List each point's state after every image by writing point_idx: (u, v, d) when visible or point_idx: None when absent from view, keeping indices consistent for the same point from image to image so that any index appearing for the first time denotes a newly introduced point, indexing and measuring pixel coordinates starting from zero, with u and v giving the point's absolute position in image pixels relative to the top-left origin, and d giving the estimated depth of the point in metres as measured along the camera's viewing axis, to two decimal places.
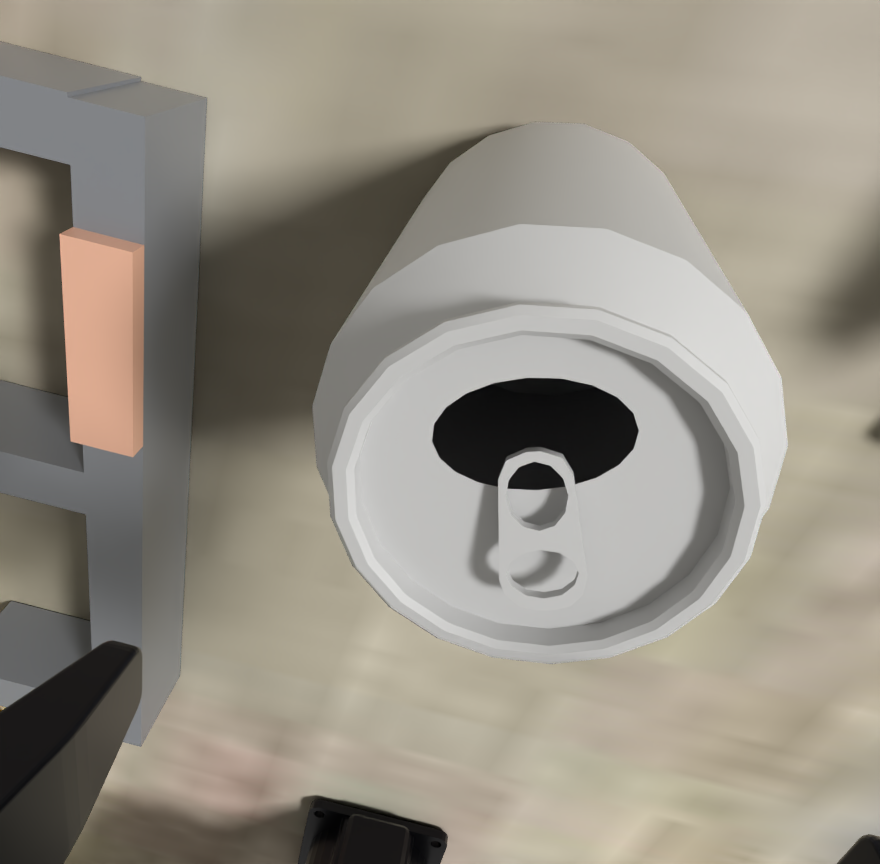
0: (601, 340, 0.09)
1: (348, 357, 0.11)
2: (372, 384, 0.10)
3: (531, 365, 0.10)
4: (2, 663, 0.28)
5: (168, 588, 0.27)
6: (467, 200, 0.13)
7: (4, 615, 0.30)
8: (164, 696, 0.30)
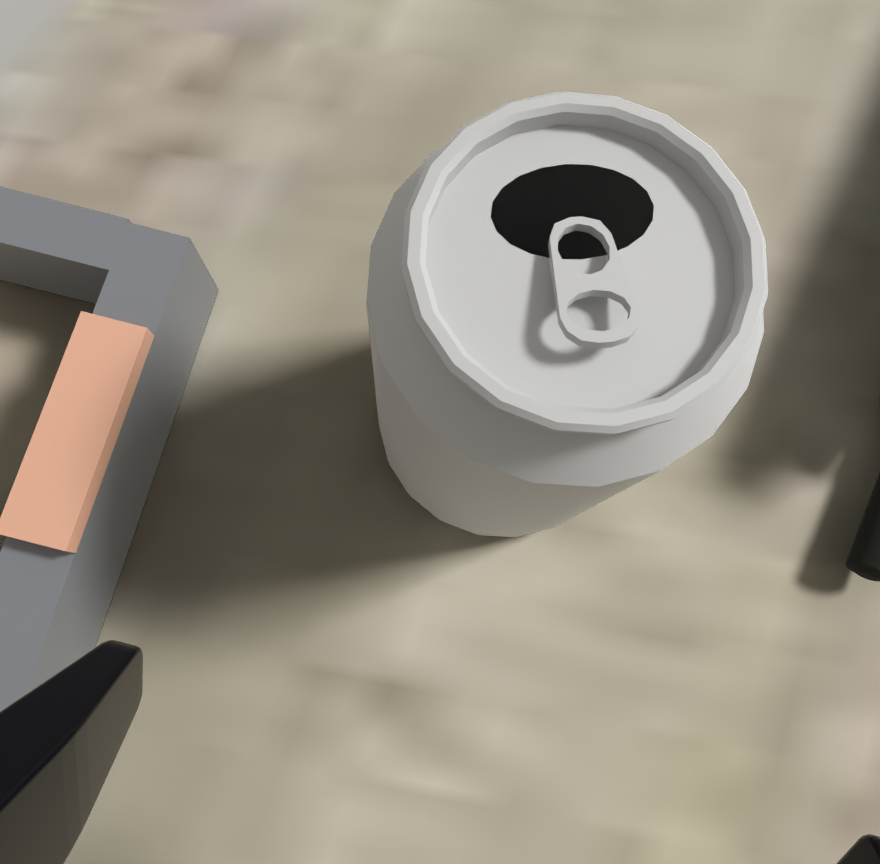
0: (620, 111, 0.13)
1: (414, 184, 0.14)
2: (452, 141, 0.13)
3: (567, 154, 0.13)
4: None
5: None
6: None
7: None
8: None
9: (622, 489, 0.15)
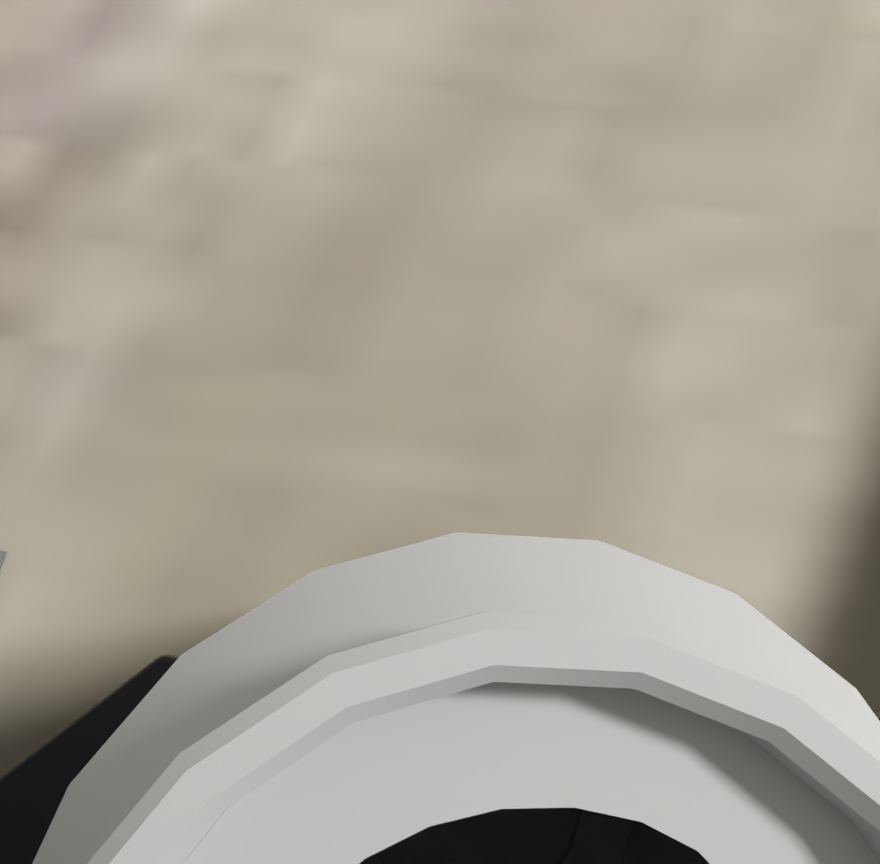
0: (661, 684, 0.04)
1: (100, 803, 0.05)
2: (141, 823, 0.04)
3: (507, 777, 0.05)
4: None
5: None
6: None
7: None
8: None
9: None
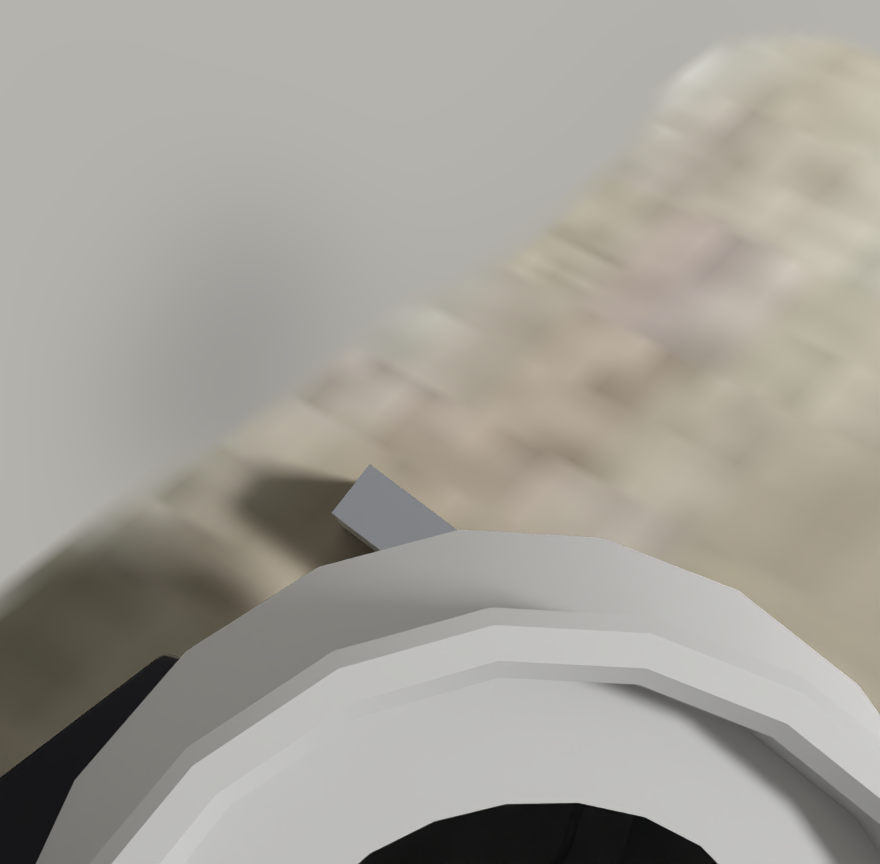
0: (665, 681, 0.04)
1: (106, 798, 0.05)
2: (147, 819, 0.04)
3: (512, 772, 0.05)
4: None
5: None
6: None
7: None
8: None
9: None
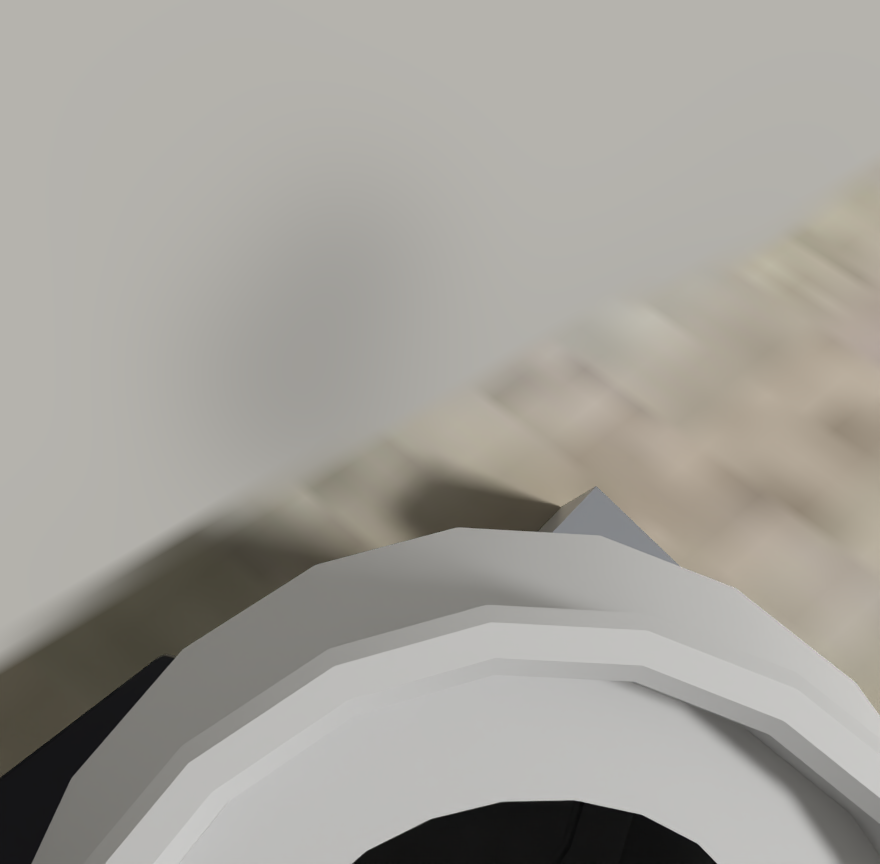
0: (660, 677, 0.04)
1: (102, 796, 0.05)
2: (143, 815, 0.04)
3: (508, 769, 0.05)
4: None
5: None
6: None
7: None
8: None
9: None
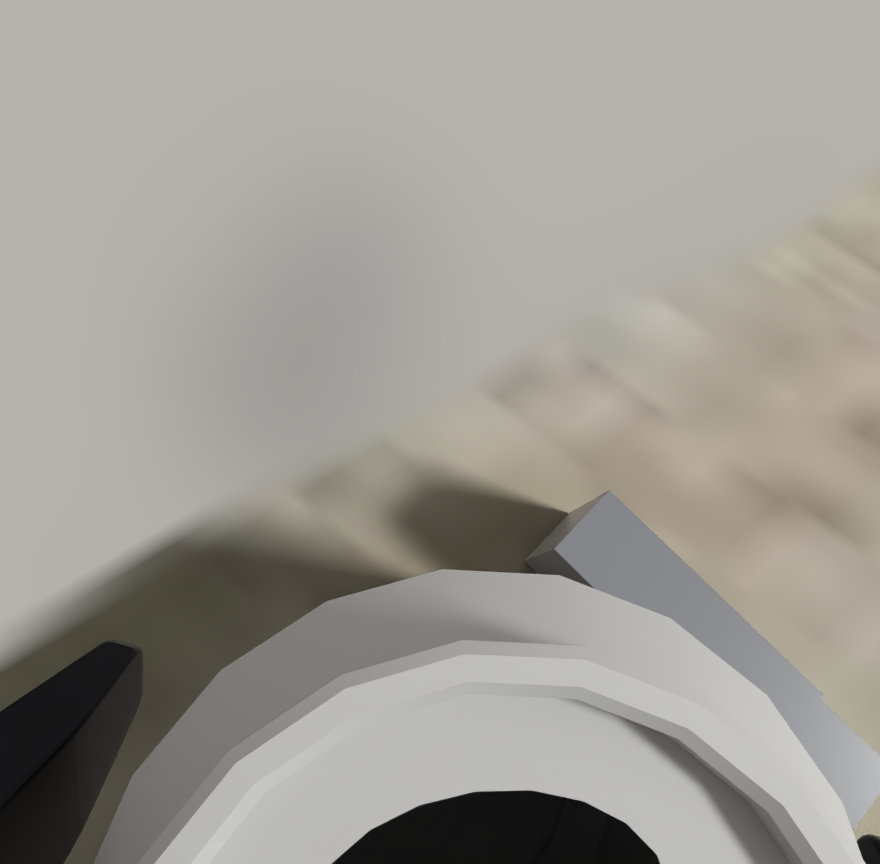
0: (596, 696, 0.06)
1: (160, 789, 0.07)
2: (201, 803, 0.06)
3: (480, 767, 0.06)
4: None
5: None
6: None
7: None
8: None
9: None
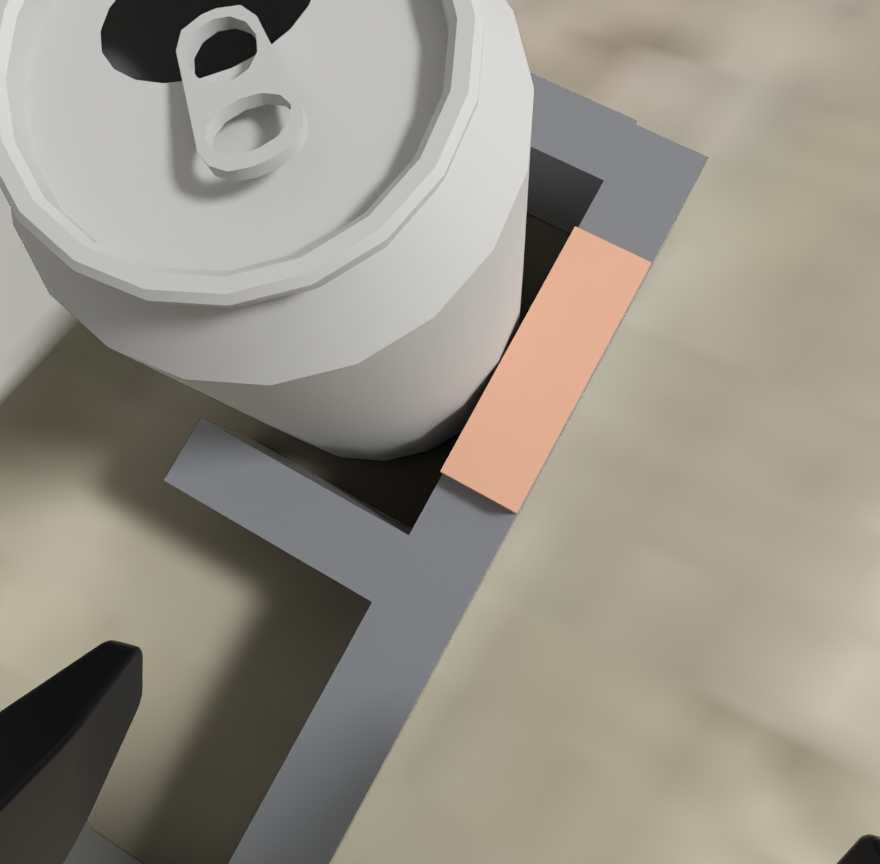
0: None
1: None
2: None
3: None
4: None
5: None
6: None
7: None
8: None
9: (441, 358, 0.12)
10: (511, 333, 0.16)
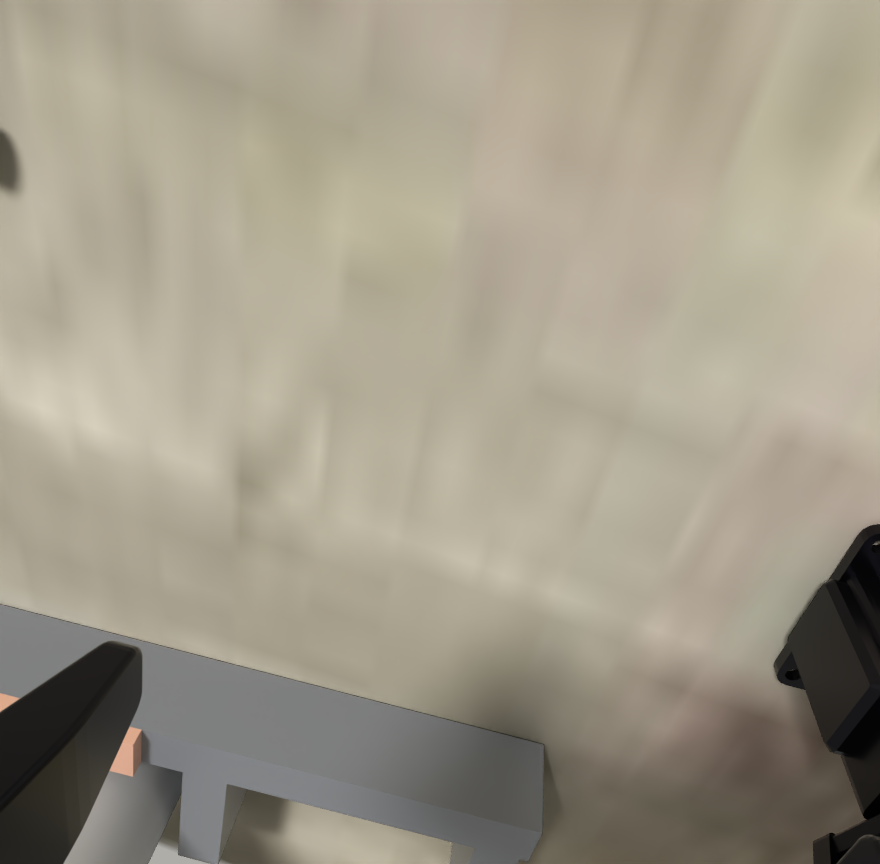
0: None
1: None
2: None
3: None
4: None
5: (370, 733, 0.27)
6: None
7: (452, 851, 0.31)
8: (530, 776, 0.27)
9: None
10: None
